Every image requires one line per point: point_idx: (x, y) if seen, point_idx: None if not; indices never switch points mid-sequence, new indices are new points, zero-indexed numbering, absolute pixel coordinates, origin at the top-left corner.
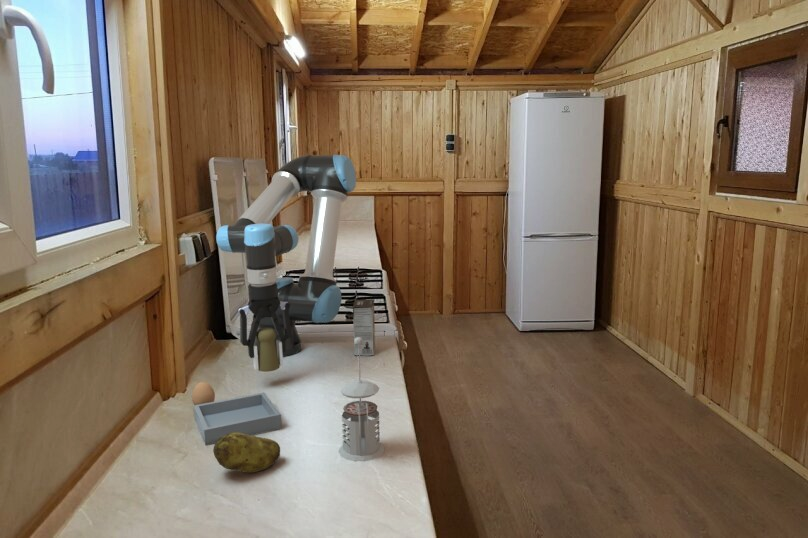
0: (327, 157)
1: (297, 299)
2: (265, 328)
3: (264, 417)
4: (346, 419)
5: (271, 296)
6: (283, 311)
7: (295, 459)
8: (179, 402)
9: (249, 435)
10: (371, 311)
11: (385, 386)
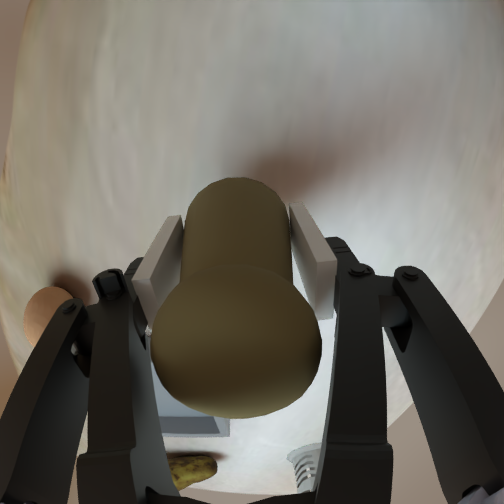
0: None
1: None
2: (233, 388)
3: (199, 436)
4: (309, 477)
5: None
6: (461, 483)
7: (234, 457)
8: (8, 238)
9: (180, 485)
10: None
11: (472, 306)
